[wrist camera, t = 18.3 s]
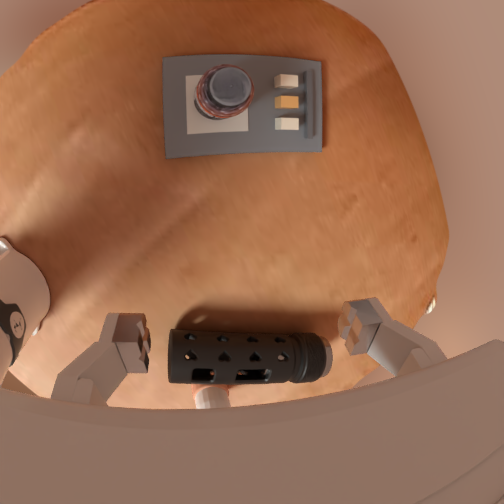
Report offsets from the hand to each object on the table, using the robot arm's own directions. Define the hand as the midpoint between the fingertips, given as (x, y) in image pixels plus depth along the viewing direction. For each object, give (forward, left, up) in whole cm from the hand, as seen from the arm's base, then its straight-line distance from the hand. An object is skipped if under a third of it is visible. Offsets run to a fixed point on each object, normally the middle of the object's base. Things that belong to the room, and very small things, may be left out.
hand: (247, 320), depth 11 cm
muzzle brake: (+6, -29, -32) cm, 44 cm away
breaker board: (+7, +11, -32) cm, 34 cm away
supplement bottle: (+3, +11, -30) cm, 32 cm away
